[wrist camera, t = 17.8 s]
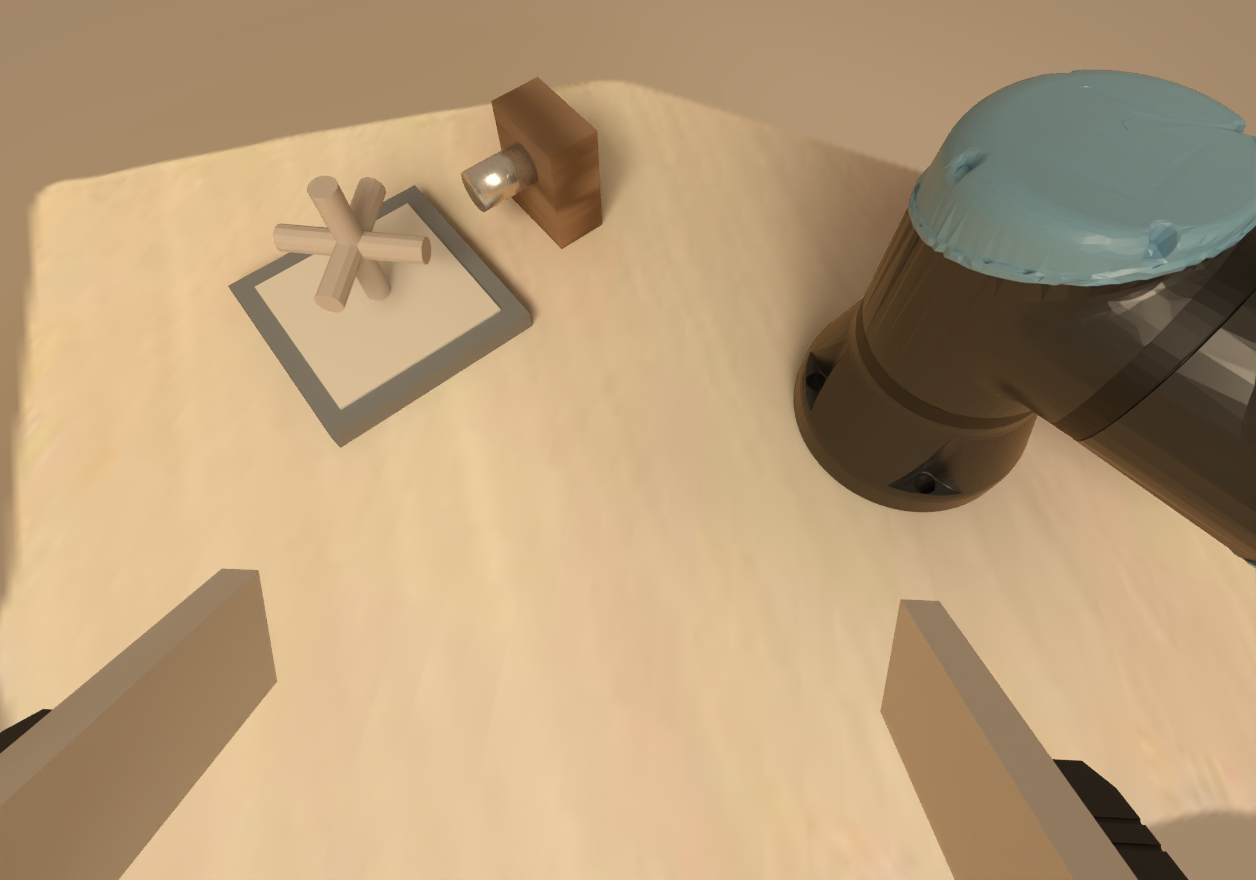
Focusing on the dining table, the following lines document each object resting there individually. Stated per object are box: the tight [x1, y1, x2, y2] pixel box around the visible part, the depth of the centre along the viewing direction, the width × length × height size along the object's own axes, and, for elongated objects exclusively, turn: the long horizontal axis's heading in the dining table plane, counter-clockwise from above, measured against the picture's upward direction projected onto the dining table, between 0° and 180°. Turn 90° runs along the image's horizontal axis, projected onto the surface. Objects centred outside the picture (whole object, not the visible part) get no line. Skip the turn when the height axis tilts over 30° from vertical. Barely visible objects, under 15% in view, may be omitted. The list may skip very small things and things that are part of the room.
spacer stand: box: [228, 77, 602, 448], centre depth 49 cm, size 26×16×9 cm, turn 129°
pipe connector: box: [273, 176, 431, 312], centre depth 46 cm, size 10×10×10 cm
